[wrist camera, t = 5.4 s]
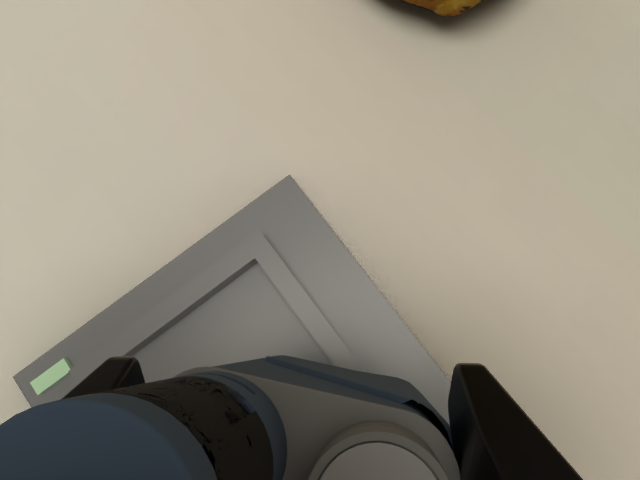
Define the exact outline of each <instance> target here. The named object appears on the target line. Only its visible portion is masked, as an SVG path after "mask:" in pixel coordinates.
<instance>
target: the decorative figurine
mask: <svg viewBox="0 0 640 480" xmlns="http://www.w3.org/2000/svg"><path fill="white" fill-rule="evenodd" d="M402 1H405V2H407V3H410V4H413V5H416V6H419V7H423V8H427V9H430V10H432V11H433V12H434V13H435V14H439V15H442V16H455V15H459V14H461V13H463V12H465V11H467V10H469V9H471V8H472V7H474V6H475V5H476V4H478V3H479V2H480V1H483V0H402Z"/></svg>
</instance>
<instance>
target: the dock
mask: <svg viewBox="0 0 640 480" xmlns="http://www.w3.org/2000/svg"><path fill="white" fill-rule="evenodd" d="M278 355H285V356H291V357H296V358H300V359H305V360H309V361H314V362H319V363H323V364H328V365H332V366H337V367H342V368H346V369H351V370H355V371H361V372H367V373H373V374H380V375H386V376H392V377H398V378H400V379H403V380H406V381H408V382H410V383H411V384H412V385H413V386H414V387H415V388H416V389H417V390H419V391H420V392H421V394H422V395H423V396H424V397H425V398H426V399H427V400H428V401H429V402H430V404H431V405H432V406H433V407H434V408H435V409H436V410H437V411H438V413H439V414H440V415H441V416H442V417H443V418H444V419H445V420H446V421H447V423H448V424H449V425H450V422H449V414H448V397H449V391H450V386H451V382H450V380H449V379H448V378H447V377H446V375H445V374H444V373H443V371H442V370H441V369H440V368H439V366H438V365H437V364H436V362H435V361H434V360H433V359H432V357H431V356H430V355H429V353H428V352H427V351H426V350H425V348H424V347H423V346H422V344H421V343H420V342H419V341H418V339H417V338H416V337H415V335H414V334H413V333H412V332H411V330H410V329H409V328H408V326H407V325H406V324H405V322H404V321H403V320H402V319H401V317H400V316H399V315H398V313H397V312H396V311H395V310H394V308H393V307H392V306H391V304H390V303H389V302H388V301H387V299H386V298H385V297H384V295H383V294H382V293H381V292H380V290H379V289H378V288H377V286H376V285H375V284H374V283H373V281H372V280H371V279H370V277H369V276H368V275H367V274H366V272H365V271H364V270H363V268H362V267H361V266H360V265H359V263H358V262H357V261H356V259H355V258H354V257H353V256H352V254H351V253H350V252H349V250H348V249H347V248H346V247H345V245H344V244H343V243H342V241H341V240H340V239H339V238H338V236H337V235H336V234H335V232H334V231H333V230H332V229H331V227H330V226H329V225H328V223H327V222H326V221H325V220H324V218H323V217H322V216H321V214H320V213H319V212H318V210H317V209H316V208H315V207H314V205H313V204H312V203H311V201H310V200H309V199H308V198H307V196H306V195H305V194H304V192H303V191H302V190H301V189H300V187H299V186H298V185H297V183H296V182H295V181H294V180H293V178H292V177H291V176H290V175H288V176H287V177H285V178H284V179H283V180H281V181H280V182H279V183H277V184H276V185H275V186H273V187H272V188H270V189H269V190H268V191H266V192H265V193H264V194H262V195H261V196H260V197H258V198H257V199H255V200H254V201H253V202H251V203H250V204H249V205H247V206H246V207H244V208H243V209H242V210H240V211H239V212H238V213H236V214H235V215H234V216H232V217H231V218H229V219H228V220H227V221H225V222H224V223H223V224H221V225H220V226H219V227H217V228H216V229H214V230H213V231H212V232H210V233H209V234H208V235H206V236H205V237H203V238H202V239H201V240H199V241H198V242H197V243H195V244H194V245H193V246H191V247H190V248H188V249H187V250H186V251H184V252H183V253H182V254H180V255H179V256H178V257H176V258H175V259H173V260H172V261H171V262H169V263H168V264H167V265H165V266H164V267H162V268H161V269H160V270H158V271H157V272H156V273H154V274H153V275H152V276H150V277H149V278H147V279H146V280H145V281H143V282H142V283H141V284H139V285H138V286H137V287H135V288H134V289H132V290H131V291H130V292H128V293H127V294H126V295H124V296H123V297H121V298H120V299H119V300H117V301H116V302H115V303H113V304H112V305H111V306H109V307H108V308H106V309H105V310H104V311H102V312H101V313H100V314H98V315H97V316H96V317H94V318H93V319H91V320H90V321H89V322H87V323H86V324H85V325H83V326H82V327H80V328H79V329H78V330H76V331H75V332H74V333H72V334H71V335H70V336H68V337H67V338H65V339H64V340H63V341H61V342H60V343H59V344H57V345H56V346H54V347H53V348H52V349H50V350H49V351H48V352H46V353H45V354H44V355H42V356H41V357H39V358H38V359H37V360H35V361H34V362H33V363H31V364H30V365H29V366H27V367H26V368H24V369H23V370H22V371H20V372H19V373H18V374H16V375H15V376H13V378H14V380H15V381H16V383H17V384H18V386H19V388H20V389H21V391H22V393H23V394H24V396H25V397H26V399H27V401H28V402H29V404H30V406H31V407H35V406H37V405H40V404H44V403H49V402H53V401H57V400H60V399H61V398H63V397H64V396H65V395H66V394H67V393H68V392H70V391H71V390H72V389H73V388H74V387H75V386H76V385H78V384H79V383H80V382H81V381H82V380H83V379H85V378H86V377H87V376H88V375H89V374H90V373H91V372H93V371H94V370H95V369H96V368H97V367H98V366H100V365H101V364H102V363H103V362H104V361H105V360H107V359H108V358H110V357H113V356H133V357H136V358H137V359H138V361H139V363H140V366H141V369H142V373H143V376H144V380H145V383H149V382H152V383H153V382H154V381H159V380H164V379H170V378H173V377H174V376H176V375H178V374H180V373H181V372H183V371H186V370H189V369H192V368H196V367H206V366H208V367H213V366H219V365H225V364H231V363H236V362H242V361H248V360H254V359H260V358H266V356H270V357H271V356H278ZM160 382H161V381H160ZM418 404H419V402H418Z"/></svg>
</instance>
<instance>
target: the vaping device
mask: <svg viewBox="0 0 640 480" xmlns="http://www.w3.org/2000/svg"><path fill="white" fill-rule="evenodd" d="M160 381H161V382H160ZM117 390H118V391H117ZM120 392H121V393H120ZM134 394H135V395H134ZM137 394H138V395H137ZM418 402H419V404H418ZM452 448H453V445H452V438H451V431H450V425H449V424H448V423H447V421H446V420H445V419H444V418H443V417H442V416H441V415H440V414H439V413H438V411H437V410H436V409H435V408H434V407H433V406H432V405H431V404H430V402H429V401H428V400H427V399H426V398H425V397H424V396H423V395H422V394H421V392H420V391H419V390H417V389H416V388H415V387H414V386H413V385H412V384H411V383H410V382H408V381H406V380H403V379H400V378H398V377H392V376H386V375H380V374H373V373H367V372H361V371H355V370H351V369H346V368H342V367H337V366H332V365H328V364H323V363H319V362H314V361H309V360H305V359H300V358H296V357H291V356H285V355H278V356H271V357H270V356H266V358H260V359H254V360H248V361H242V362H236V363H231V364H225V365H219V366H213V367H208V366H206V367H196V368H192V369H189V370H186V371H183V372H181V373H180V374H178V375H176V376H174V377H173V378H170V379H164V380H159V381H154V382H153V383H152V382H149V383H144V384H139V385H133V386H128V388H127V387H123V388H118V389H113V390H108V391H102V392H97V393H92V394H87V395H82V396H77V397H71V398H66V399H61V400H57V401H53V402H49V403H44V404H40V405H37V406H35V407H32V408H30V409H28V410H25V411H23V412H21V413H19V414H16V415H15V416H13V417H12V418H10V419H9V420H7V421H6V422H4V423H3V424H1V425H0V480H461V478H460V471H459V466H458V463H457V461H456V458H455V455H454V453H453V449H452Z"/></svg>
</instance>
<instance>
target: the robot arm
mask: <svg viewBox="0 0 640 480" xmlns="http://www.w3.org/2000/svg"><path fill="white" fill-rule="evenodd" d="M144 383H145V380H144V376H143V373H142V369H141V366H140V363H139V361H138V359H137V358H136V357H133V356H113V357H110V358H108V359H107V360H105V361H104V362H103V363H102V364H101V365H100V366H98V367H97V368H96V369H95V370H94V371H93V372H91V373H90V374H89V375H88V376H87V377H86V378H85V379H83V380H82V381H81V382H80V383H79V384H78V385H76V386H75V387H74V388H73V389H72V390H71V391H70V392H68V393H67V394H66V395H65V396H64V397H63V398H61V399H66V398H71V397H77V396H82V395H87V394H92V393H97V392H102V391H108V390H113V389H118V388H123V387H127V388H128V386H133V385H139V384H144ZM117 391H118V390H117ZM120 393H121V392H120ZM134 395H135V394H134ZM137 395H138V394H137ZM61 399H60V400H61ZM448 414H449V422H450V431H451V438H452V445H453V448H452V449H453V453H454V455H455V458H456V461H457V463H458V466H459V471H460V478H461V480H583V479H582V478H581V477H580V475H579V474H578V473H577V472H576V471H575V470H574V469H573V467H572V466H571V465H570V464H569V463H568V462H567V461H566V459H565V458H564V457H563V456H562V455H561V454H560V452H559V451H558V450H557V449H556V448H555V447H554V446H553V444H552V443H551V442H550V441H549V440H548V439H547V437H546V436H545V435H544V434H543V433H542V432H541V431H540V429H539V428H538V427H537V426H536V425H535V424H534V423H533V421H532V420H531V419H530V418H529V417H528V416H527V414H526V413H525V412H524V411H523V410H522V409H521V408H520V406H519V405H518V404H517V403H516V402H515V401H514V399H513V398H512V397H511V396H510V395H509V394H508V393H507V391H506V390H505V389H504V388H503V387H502V386H501V384H500V383H499V382H498V381H497V380H496V379H495V378H494V376H493V375H492V374H491V373H490V372H489V371H488V370H487V368H486V367H485V366H483V365H482V364H478V363H459V364H457V365H456V366H455V368H454V371H453V376H452V381H451V386H450V391H449V397H448Z"/></svg>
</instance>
